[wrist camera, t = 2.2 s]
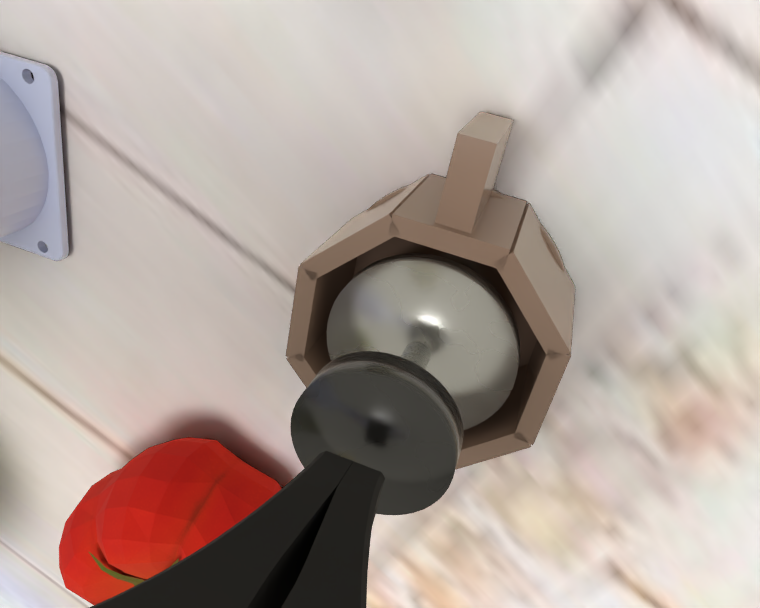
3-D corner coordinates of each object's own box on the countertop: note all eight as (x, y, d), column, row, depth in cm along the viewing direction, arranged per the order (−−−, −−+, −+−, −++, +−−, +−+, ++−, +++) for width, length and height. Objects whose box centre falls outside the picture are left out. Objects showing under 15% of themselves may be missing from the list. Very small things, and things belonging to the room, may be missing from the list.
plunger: (321, 386, 20) (246, 490, 16) (350, 228, 18) (269, 301, 13) (488, 447, 19) (457, 576, 15) (548, 290, 16) (531, 391, 12)
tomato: (99, 467, 32) (-4, 565, 27) (224, 382, 27) (126, 481, 21) (220, 595, 34) (146, 712, 28) (360, 538, 28) (303, 669, 23)
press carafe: (325, 350, 24) (274, 415, 20) (374, 79, 19) (319, 97, 15) (524, 421, 23) (510, 504, 19) (635, 148, 18) (647, 187, 14)
